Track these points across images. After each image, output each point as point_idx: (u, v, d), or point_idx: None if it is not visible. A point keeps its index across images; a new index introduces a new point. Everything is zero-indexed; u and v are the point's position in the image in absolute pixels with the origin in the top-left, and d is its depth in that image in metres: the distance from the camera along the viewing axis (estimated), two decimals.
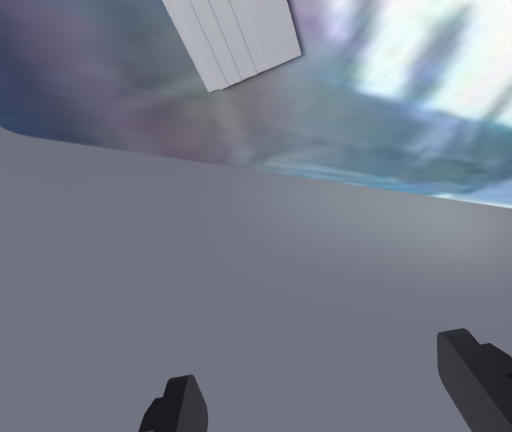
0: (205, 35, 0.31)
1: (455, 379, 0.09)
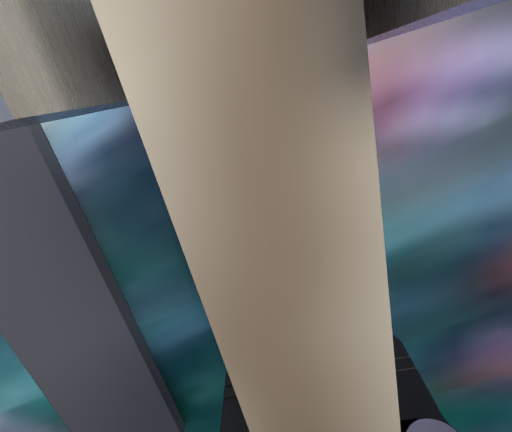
0: None
1: None
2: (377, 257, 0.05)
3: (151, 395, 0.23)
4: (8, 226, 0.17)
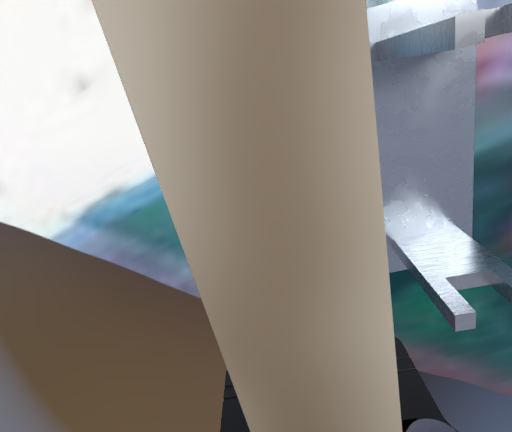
0: None
1: None
2: (379, 257, 0.05)
3: None
4: None
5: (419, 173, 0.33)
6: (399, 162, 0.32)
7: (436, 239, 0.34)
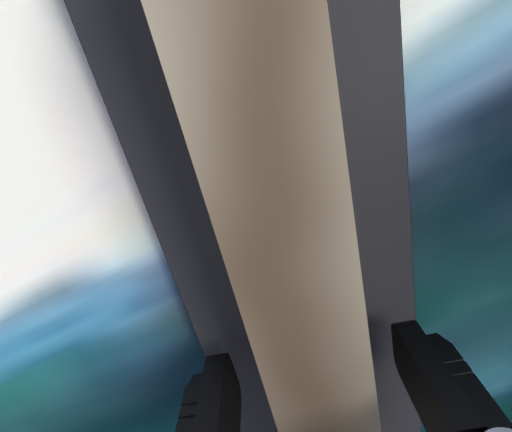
0: None
1: (404, 366, 0.10)
2: (346, 206, 0.07)
3: None
4: None
5: None
6: None
7: None
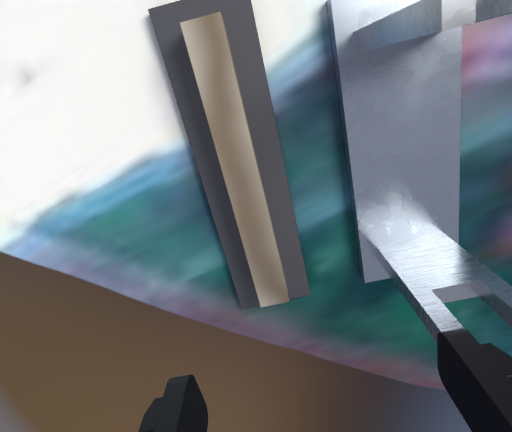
0: None
1: (455, 379, 0.09)
2: (242, 110, 0.25)
3: (297, 260, 0.34)
4: None
5: (402, 175, 0.30)
6: (381, 163, 0.30)
7: (421, 246, 0.31)
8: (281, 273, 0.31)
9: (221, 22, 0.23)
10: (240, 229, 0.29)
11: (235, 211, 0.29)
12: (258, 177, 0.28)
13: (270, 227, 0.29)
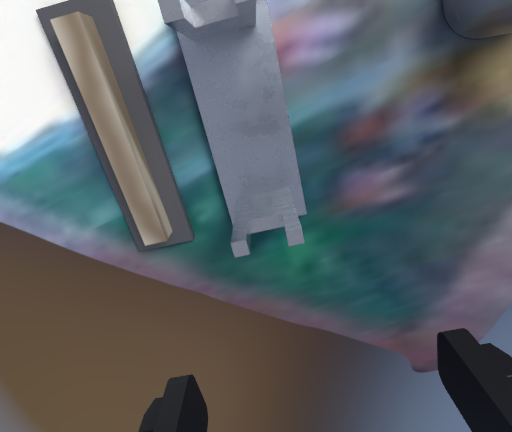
0: None
1: (455, 379, 0.09)
2: (105, 85, 0.34)
3: (177, 210, 0.43)
4: None
5: (247, 139, 0.39)
6: (229, 129, 0.38)
7: (266, 195, 0.40)
8: (156, 216, 0.40)
9: (80, 19, 0.32)
10: (118, 179, 0.38)
11: (112, 164, 0.37)
12: (125, 137, 0.36)
13: (141, 178, 0.38)
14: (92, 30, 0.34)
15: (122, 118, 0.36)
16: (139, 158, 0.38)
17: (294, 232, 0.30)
